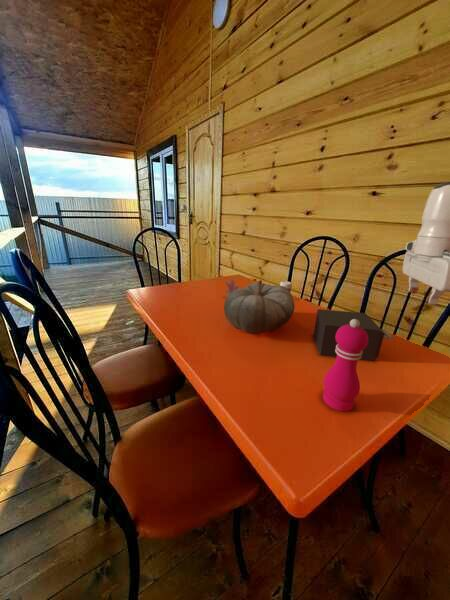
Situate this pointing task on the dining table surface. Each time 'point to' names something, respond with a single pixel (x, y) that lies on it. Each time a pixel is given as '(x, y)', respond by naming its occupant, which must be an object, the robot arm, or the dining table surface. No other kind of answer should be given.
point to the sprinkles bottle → (286, 285)
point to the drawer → (385, 335)
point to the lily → (231, 286)
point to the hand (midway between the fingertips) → (421, 297)
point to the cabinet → (334, 320)
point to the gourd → (259, 308)
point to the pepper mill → (345, 367)
